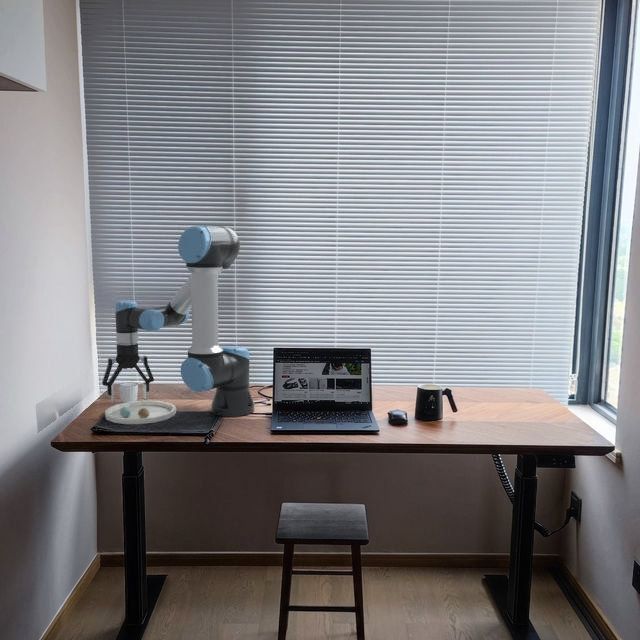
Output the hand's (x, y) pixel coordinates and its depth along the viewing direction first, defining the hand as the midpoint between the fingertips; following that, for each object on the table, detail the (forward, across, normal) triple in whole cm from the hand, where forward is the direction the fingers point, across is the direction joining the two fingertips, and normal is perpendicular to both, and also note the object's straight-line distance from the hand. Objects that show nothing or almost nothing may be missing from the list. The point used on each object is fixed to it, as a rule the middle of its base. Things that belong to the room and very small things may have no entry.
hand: (128, 402), depth 235 cm
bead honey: (-1, -1, +26) cm, 26 cm away
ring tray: (0, -1, +20) cm, 20 cm away
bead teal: (-1, +4, +22) cm, 23 cm away
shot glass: (0, 0, 0) cm, 0 cm away
